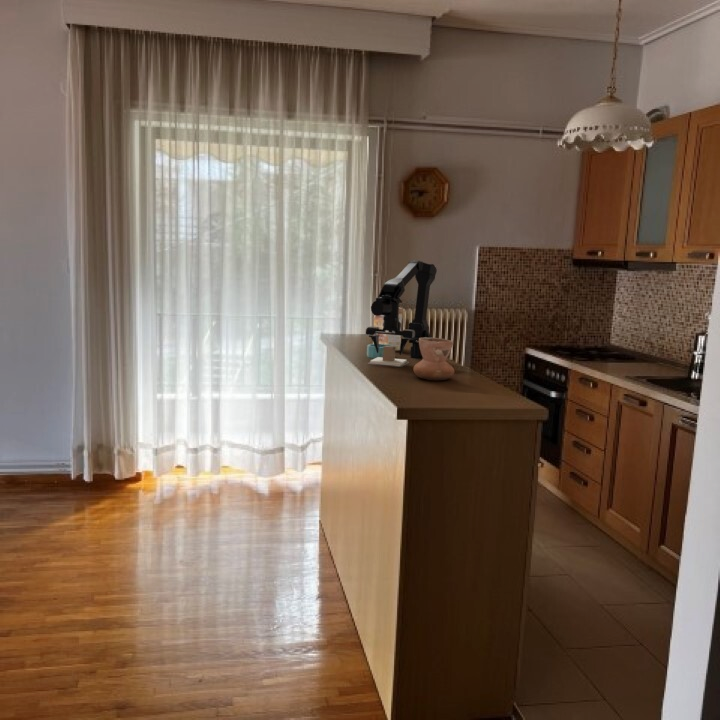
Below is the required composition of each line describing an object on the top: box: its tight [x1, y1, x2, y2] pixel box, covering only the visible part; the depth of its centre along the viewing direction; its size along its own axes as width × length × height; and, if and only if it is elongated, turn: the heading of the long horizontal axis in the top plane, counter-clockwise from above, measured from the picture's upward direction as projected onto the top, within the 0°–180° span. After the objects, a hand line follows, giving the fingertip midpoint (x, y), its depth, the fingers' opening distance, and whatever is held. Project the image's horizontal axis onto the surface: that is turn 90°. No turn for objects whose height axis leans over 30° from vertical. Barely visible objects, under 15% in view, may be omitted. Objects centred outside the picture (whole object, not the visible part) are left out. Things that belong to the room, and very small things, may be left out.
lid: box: [369, 346, 408, 367], centre depth 279 cm, size 12×12×6 cm
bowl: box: [366, 343, 392, 359], centre depth 295 cm, size 11×11×5 cm
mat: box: [366, 361, 410, 368], centre depth 280 cm, size 14×14×1 cm
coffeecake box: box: [372, 306, 403, 351], centre depth 323 cm, size 15×7×20 cm, turn 25°
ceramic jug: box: [413, 336, 455, 382], centre depth 251 cm, size 18×14×14 cm
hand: (389, 354), depth 279 cm, fingers open, 9 cm apart
